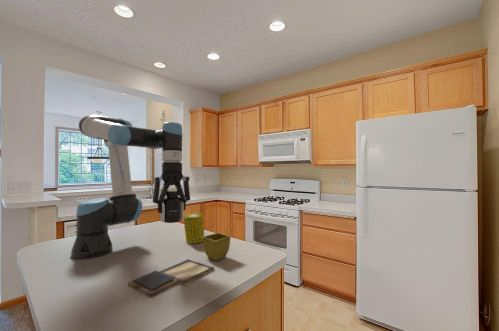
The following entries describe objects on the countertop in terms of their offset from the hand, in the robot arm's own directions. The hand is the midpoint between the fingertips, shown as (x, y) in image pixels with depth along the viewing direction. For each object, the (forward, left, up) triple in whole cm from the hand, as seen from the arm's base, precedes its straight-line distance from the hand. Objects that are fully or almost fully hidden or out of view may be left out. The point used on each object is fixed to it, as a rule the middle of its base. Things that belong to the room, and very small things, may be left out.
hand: (172, 219), depth 91 cm
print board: (+11, -2, -17) cm, 20 cm away
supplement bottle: (0, 0, -1) cm, 1 cm away
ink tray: (+9, -14, -17) cm, 24 cm away
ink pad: (+9, -14, -17) cm, 24 cm away
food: (-13, +24, -17) cm, 33 cm away
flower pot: (+11, +14, -17) cm, 25 cm away
